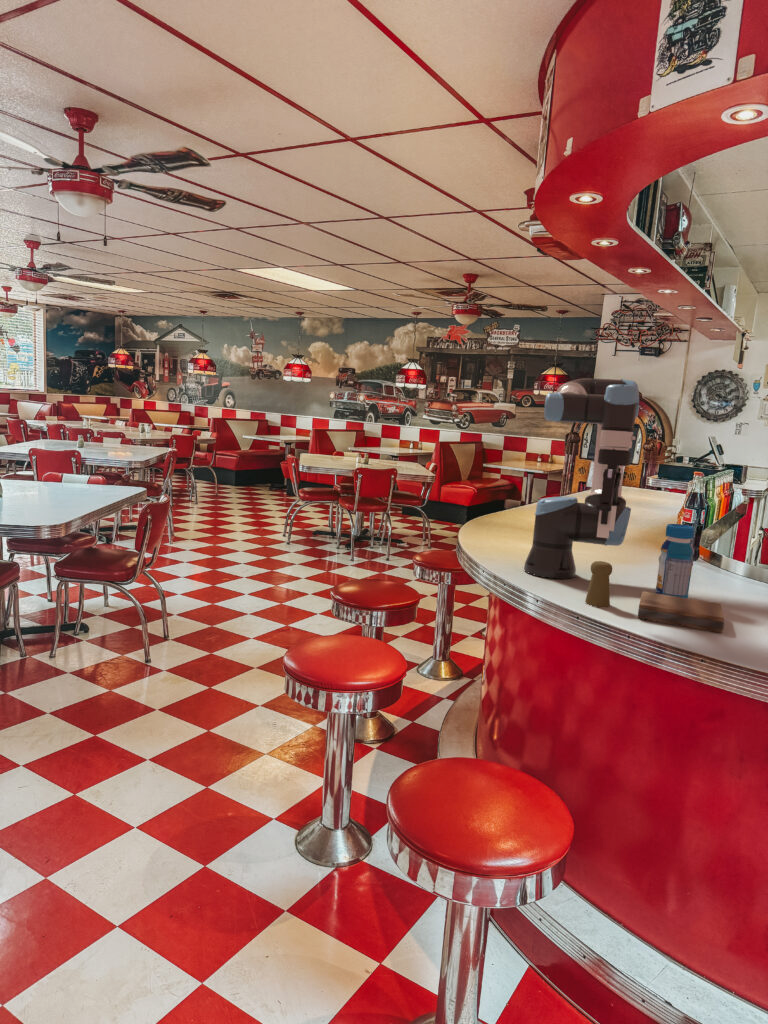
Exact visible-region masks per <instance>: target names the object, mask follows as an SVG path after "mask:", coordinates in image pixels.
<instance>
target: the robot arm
mask: <svg viewBox="0 0 768 1024" xmlns="http://www.w3.org/2000/svg"><path fill="white" fill-rule="evenodd" d="M639 390H640V389H639V384H638V383H637V381H635V380H632V379H631V380H629V379H624V378H621V379H612V378H611V379H609V378H590V377H589V378H587V377H585V378H578V379H573V380H569V381H567V382H565V383H563V384H562V385H560V386H559V387H558V388H557V390H556V391H555V392H548V393H546V396H545V401H544V410H543V411H544V412H543V413H544V414H543V418H544V420H546V421H548V422H554V423H559V422H560V423H581V424H593V425H597V430H596V439H595V440H596V441H595V450H594V458H593V459H594V460H593V469H592V470H593V471H592V480H591V490H590V494H588V495H587V496H586V497H585V498H584V503H583V502H579V501H578V498H577V497H575V496H551V497H550V496H549V497H543V498H540V499H539V500H537V502H536V508H535V512H534V515H535V516H534V517H535V518H534V526H533V527H534V528H533V537H532V544H531V548H530V550H529V553H528V555H527V556H526V560H524V561H525V562H524V566H523V567H524V568H523V571H524V570H525V571H526V572H525V571H524V572H525V573H527V572H529V573H531V574H530V575H532V574H535V575H538V576H537V577H539V576H543V577H542V578H545V577H549V578H548V579H553V578H558V579H557V580H568V579H573V578H575V577H576V574H577V573H576V572H577V569H576V563H575V559H574V554H573V544H574V543H575V542H576V543H585V544H594V545H601V546H602V545H603V546H604V547H606V546H621V545H622V544H623V543H624V540H625V536H626V534H627V531H628V526H629V522H630V517H631V511H632V508H631V507H629V506H627V500H626V499H625V498H624V497H623V496H622V489H623V477H624V469H625V468H624V467H628V466H630V464H631V456H632V451H631V450H630V449H632V447H633V441H636V436H634V431H635V429H634V427H635V422H636V418H638V416H639V412H640V391H639ZM529 573H528V574H529ZM535 575H534V576H535Z"/></svg>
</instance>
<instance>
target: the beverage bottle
mask: <svg viewBox="0 0 768 1024" xmlns="http://www.w3.org/2000/svg"><path fill="white" fill-rule="evenodd" d="M694 536H695V528H694V526H691V525H686V524H679V523H668V524H666V529H665V537H666V538H667V539H666V540H665V541H664V542H663V543H662V545H661V546H660V552H661V553H660V555H659V556H658V571H657V579H656V587H655V591H654V593H657V594H663V595H669V596H676V597H682V598H688V599H689V589H690V583H691V576H692V569H693V567H694V559H693V556H694V555H695V551H694V550H695V549H694V546H693V544H692V542H691V541H693V539H694Z"/></svg>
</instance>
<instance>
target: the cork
mask: <svg viewBox="0 0 768 1024" xmlns="http://www.w3.org/2000/svg"><path fill="white" fill-rule="evenodd" d="M590 572H591V574H592V575H591V577H590V582H589V586H588V589H587V593H586V597H585V600H584V603H585V602H586V603H587V604H589V605H588V606H590V605H592V606H591V607H594V606H597V607H596V608H600V607H606V608H610V607H611V606H610V605H611V604H610V603H611V601H610V599H611V598H610V597H611V596H610V595H611V593H610V590H611V589H610V576H611V574H612V573H613V565H612V564H611V563H610V562H607V561H601V560H598V561H597V560H596V561H594V562H592V563H591V565H590ZM586 603H585V604H586ZM587 604H586V605H587Z"/></svg>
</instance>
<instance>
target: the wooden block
mask: <svg viewBox="0 0 768 1024" xmlns="http://www.w3.org/2000/svg"><path fill="white" fill-rule="evenodd" d="M639 618H644V619H648V620H647V621H650V620H654V621H653V622H656V621H659V622H658V623H662V622H664V623H663V624H667V623H670V624H669V625H673V624H675V625H674V626H679V625H680V626H681V627H685V626H686V627H685V628H692V629H697V630H703V631H709V632H715V633H721V634H722V633H723V630H724V627H725V616H724V611H723V607H722V604H721V603H720V602H714V601H713V602H712V601H708V600H707V601H706V600H702V599H701V600H700V599H694V598H689V597H688V598H682V597H676V596H669V595H663V594H657V593H655V592H649V591H642V592H641V596H640V600H639V605H638V611H637V619H639ZM644 619H643V620H644ZM680 626H679V627H680Z"/></svg>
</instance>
